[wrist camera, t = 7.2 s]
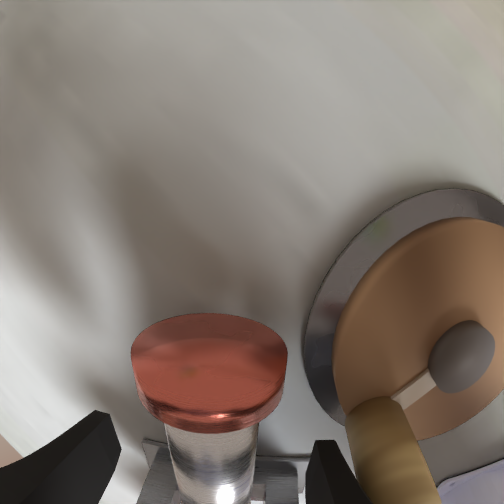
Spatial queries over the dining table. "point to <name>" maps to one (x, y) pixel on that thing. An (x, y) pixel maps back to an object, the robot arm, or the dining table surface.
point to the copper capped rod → (210, 397)
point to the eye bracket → (264, 480)
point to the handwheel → (420, 351)
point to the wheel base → (360, 260)
